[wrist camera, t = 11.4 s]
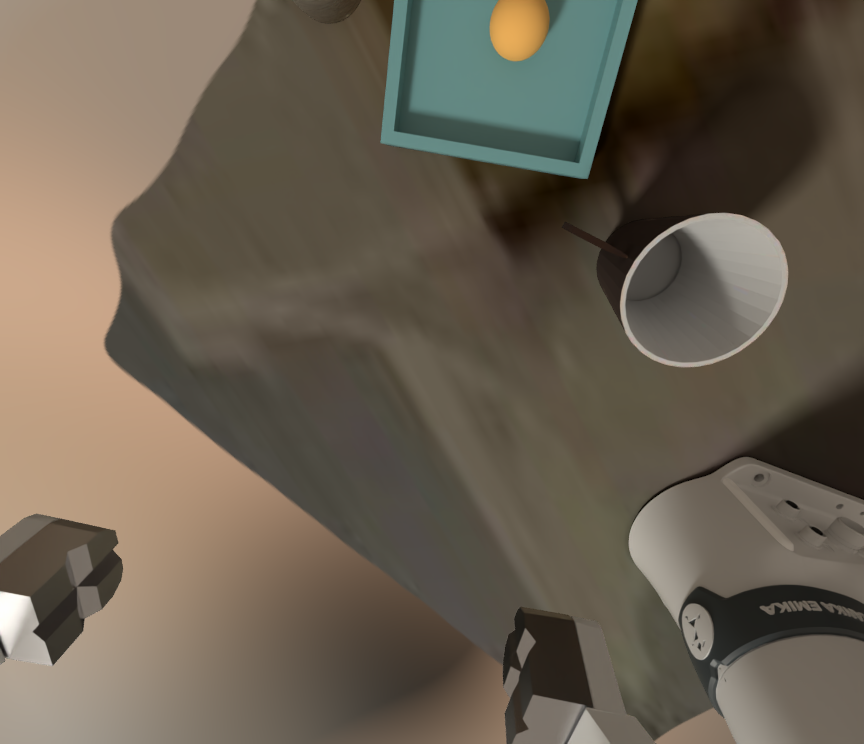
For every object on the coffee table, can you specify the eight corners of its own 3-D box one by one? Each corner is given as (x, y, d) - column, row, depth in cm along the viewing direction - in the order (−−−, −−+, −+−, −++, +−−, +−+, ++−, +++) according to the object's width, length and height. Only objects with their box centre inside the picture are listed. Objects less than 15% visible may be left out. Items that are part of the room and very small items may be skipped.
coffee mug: (721, 272, 33) (815, 308, 24) (618, 338, 36) (667, 393, 27) (642, 138, 30) (715, 122, 21) (536, 222, 33) (560, 239, 24)
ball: (536, 15, 28) (566, -17, 25) (526, 76, 29) (554, 53, 25) (485, -2, 27) (510, -38, 24) (476, 62, 28) (499, 36, 24)
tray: (650, -81, 26) (667, -106, 23) (579, 178, 31) (587, 178, 29) (414, -119, 26) (408, -148, 24) (387, 145, 32) (380, 142, 29)
